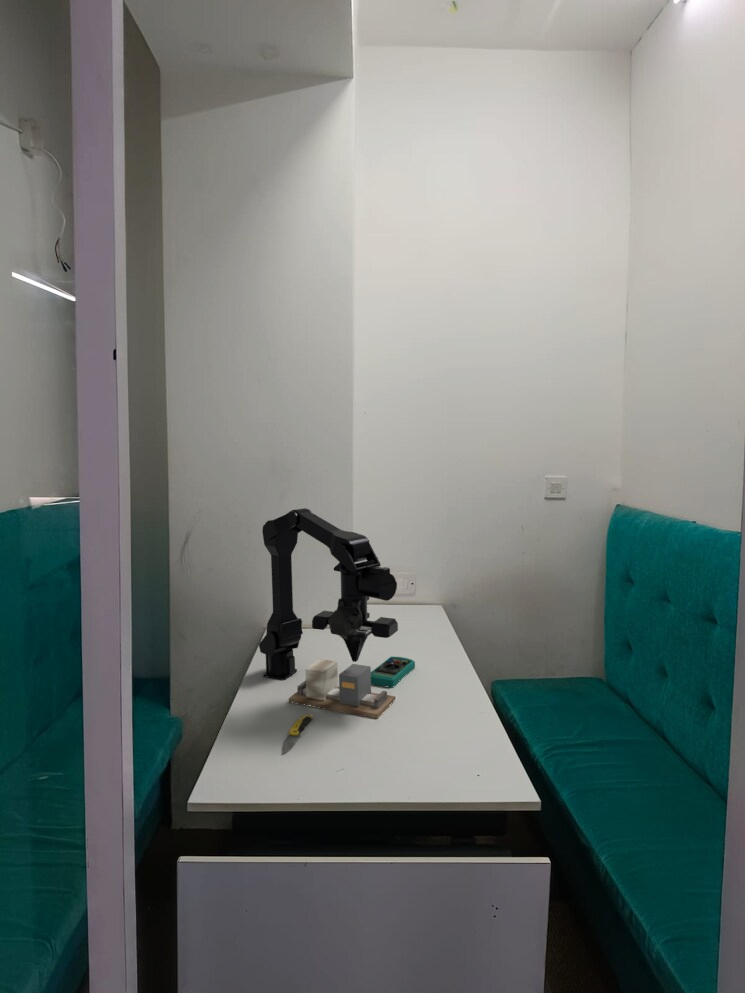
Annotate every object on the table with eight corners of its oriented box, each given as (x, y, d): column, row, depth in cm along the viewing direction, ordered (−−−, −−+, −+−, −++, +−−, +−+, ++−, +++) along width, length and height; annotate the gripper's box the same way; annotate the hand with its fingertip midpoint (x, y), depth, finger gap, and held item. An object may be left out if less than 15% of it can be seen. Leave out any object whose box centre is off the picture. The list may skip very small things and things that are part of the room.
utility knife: (292, 752, 124) (276, 750, 124) (292, 758, 124) (276, 757, 124) (313, 714, 140) (299, 713, 140) (313, 720, 140) (299, 719, 140)
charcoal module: (339, 703, 144) (338, 674, 143) (353, 691, 150) (352, 663, 150) (357, 706, 142) (357, 677, 141) (371, 694, 149) (370, 666, 148)
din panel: (288, 702, 148) (287, 669, 147) (310, 686, 157) (309, 654, 156) (377, 718, 139) (377, 683, 138) (395, 700, 148) (394, 667, 147)
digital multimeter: (416, 669, 168) (416, 658, 168) (393, 690, 155) (392, 678, 155) (390, 665, 171) (390, 654, 171) (365, 685, 158) (365, 673, 158)
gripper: (298, 597, 140) (300, 667, 142) (378, 606, 133) (379, 680, 134) (323, 585, 150) (324, 651, 152) (398, 593, 143) (399, 662, 144)
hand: (355, 661), depth 145 cm, fingers closed
